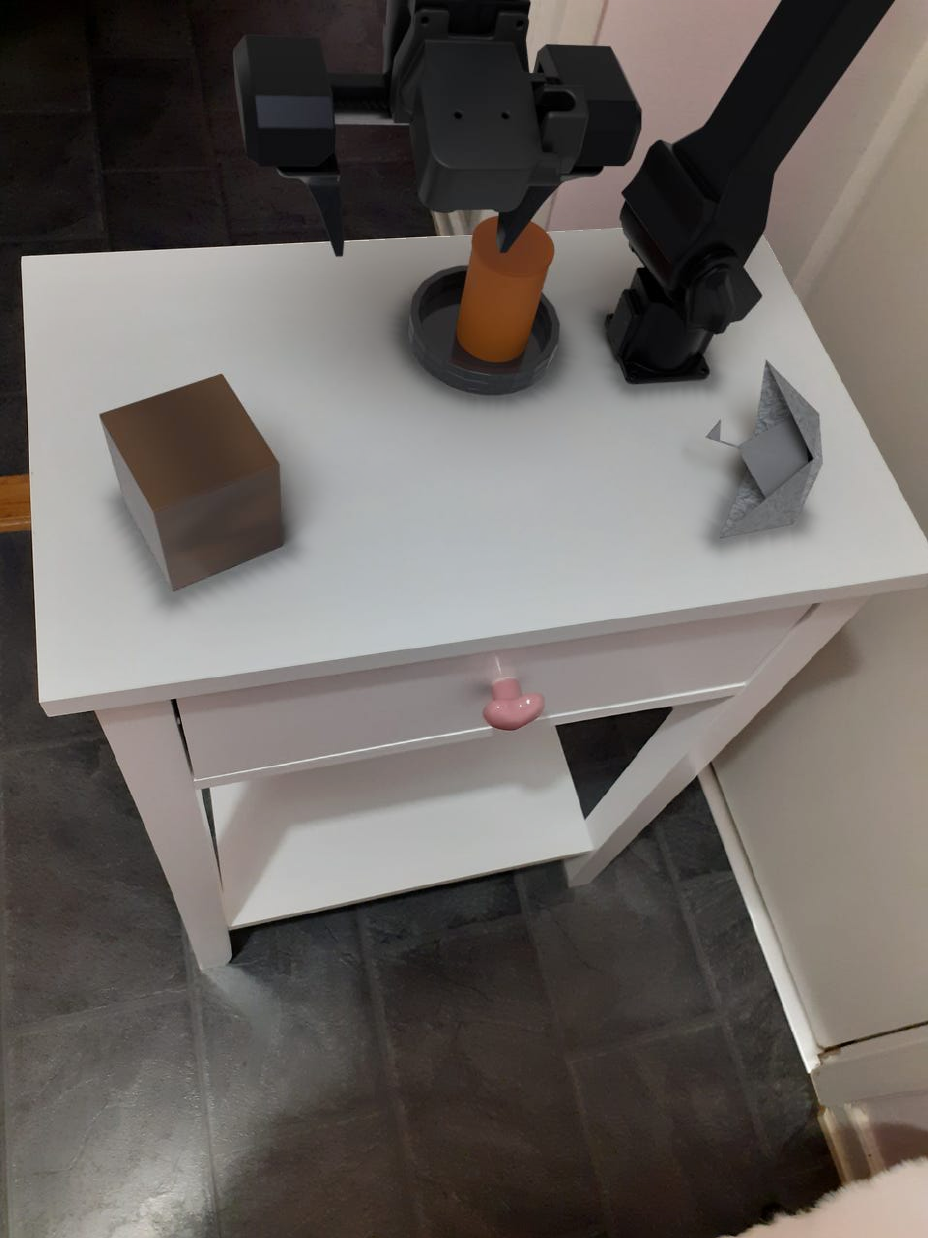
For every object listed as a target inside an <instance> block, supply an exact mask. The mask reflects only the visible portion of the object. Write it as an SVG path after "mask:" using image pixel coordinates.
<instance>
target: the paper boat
mask: <svg viewBox="0 0 928 1238" xmlns="http://www.w3.org/2000/svg"><path fill="white" fill-rule="evenodd" d="M764 361H765V362H764V367H763V374H762V381H761V387H760V388H761V389H760V394H759V396H760V397H759V402H758V407H757V414H756V415H757V416H756V422H755V427H754V428H755V429H754V435H753V437H751V438H749V439H748V440H746V441H744V442H742V443H740V444H739V445H736V444H733V443H730V442H727V441H723V440H721V431H722V419H719V420H718V422H717V423H716V424H715V425H714V426H713V428H712V429H711V430H710V431H709V432H708V434H707V435H706V436H705V438H707V439H709V440H712V441H716V442H718V443H720V444H723V445H727V446H731V447H734V448H736V449H737V450H738V453H739V454H740V455H741V457H742V459H743V461H744V462H745V464H746V466H747V470H746V472H745V475H744V478H743V480H742V481H741V485H740V486H739V490H738V491H737V495H736V496H735V499H734V502H733V504H732V506H731V509H730V511H729V514H728V517H727V519H726V521H725V524H724V526H723V528H722V530H721V533H720V535H719V539H723V538H728V537H732V536H739V535H744V534H749V533H754V532H760V531H765V530H769V529H774V528H781V527H785V526H790V525H793V524H794V522H795V521H796V519H797V518H798V516H799V515H800V513H801V511H802V509H803V508H804V505H805V504H806V501H807V499H808V497H809V495H810V492H811V491H812V489H813V486H814V483H815V481H816V480H817V477H818V475H819V473H820V471H821V469H822V466H823V464H824V462H823V460H824V459H823V447H822V445H823V444H822V430H821V417H820V413H819V412H818V411H817V410H816V409H815V408H814V406H812V405H811V404H810V403H809V402H808V401H807V400H806V399H805V397H803V396H802V394H801V393H799V391H798V390H797V389H796V388H795V387H794V386H793V385H792V384H791V383H790V381H788V380H787V379H786V378H785V377H784V376H783V375H782V374H781V372H780V371H778V369H776V368H775V367H774V366H773V364H771V362H769V360H768V359H765V360H764Z"/></svg>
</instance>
